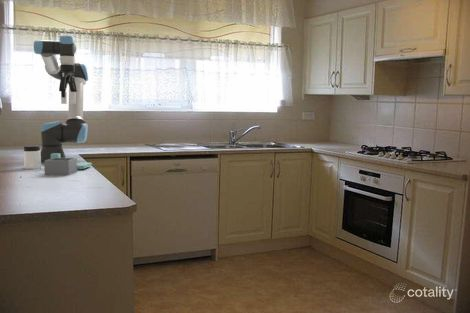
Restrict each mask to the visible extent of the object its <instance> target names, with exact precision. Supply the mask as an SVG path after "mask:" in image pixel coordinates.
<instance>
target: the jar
mask: <svg viewBox="0 0 470 313" xmlns="http://www.w3.org/2000/svg"><path fill="white" fill-rule="evenodd" d="M22 152H23V169H26V170H36V169H41V168H42V161H41V145H39V144H38V145H34V144H33V145H30V144H28V145H23V151H22Z"/></svg>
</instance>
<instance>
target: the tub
mask: <svg viewBox="0 0 470 313" xmlns="http://www.w3.org/2000/svg"><path fill="white" fill-rule="evenodd" d="M43 162H44V175H47V176H49V175H51V176H61V175H62V176H70V175H72V174H75V173H77V171H78V170H77V163H78V158H77V157H66V158H51V159H48V160H45V161H43Z"/></svg>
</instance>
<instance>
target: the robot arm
mask: <svg viewBox="0 0 470 313" xmlns="http://www.w3.org/2000/svg"><path fill="white" fill-rule="evenodd" d="M33 52H34V54H36V55H40V56H41V59H42V61H43V62H44V70H45V71H46V73H47V74H48V75H49V76H50V77H51V78H52V77H53V78H54V79H56V80H59V86H58V91H59V92H60V100H61V101H60V102H61V103H60V104H61V105H63V104H64V105H67V104H68V118H67V119H66V120H65V123H62V121H61V120H60V121H52V122H46V123H42V124H41V126H40V128H41V129H40V133H41V134H40V135H41V136H40V137H41V148H40V151H41V162H44V161H45V160H48V159H51V154H53V153H60V154H61V158H67V157H66V153H65V152H64V149H63V144H79V143H82V144H83V143H85V142H86V141H87V137H88V132H89V131H88V130H89V125H88V123H86V120H85V119H84V85H86V84H87V82H88V81H89V76H88V69H87V68H88V67H87V64H86V63H85V62H83V61H82V62H81V61H77V62H76V61H75V60H76V58H75V53H77V46H76V44H75V37H74V35H70V34H69V35H68V34H61V35H60V36H59V40H47V39H46V40H43V39H39V40H34V41H33ZM57 55H59V60H58V58H57ZM67 87H68V94H67ZM67 96H68V97H67ZM67 98H68V99H67Z"/></svg>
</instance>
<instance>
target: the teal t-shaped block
mask: <svg viewBox="0 0 470 313" xmlns="http://www.w3.org/2000/svg"><path fill="white" fill-rule="evenodd" d="M51 158H61V154H60V153H53V154H51ZM92 165H93V162H77V171H78V170H80V171H81V170H84V169H86V168H89V167H91V166H92Z"/></svg>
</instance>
